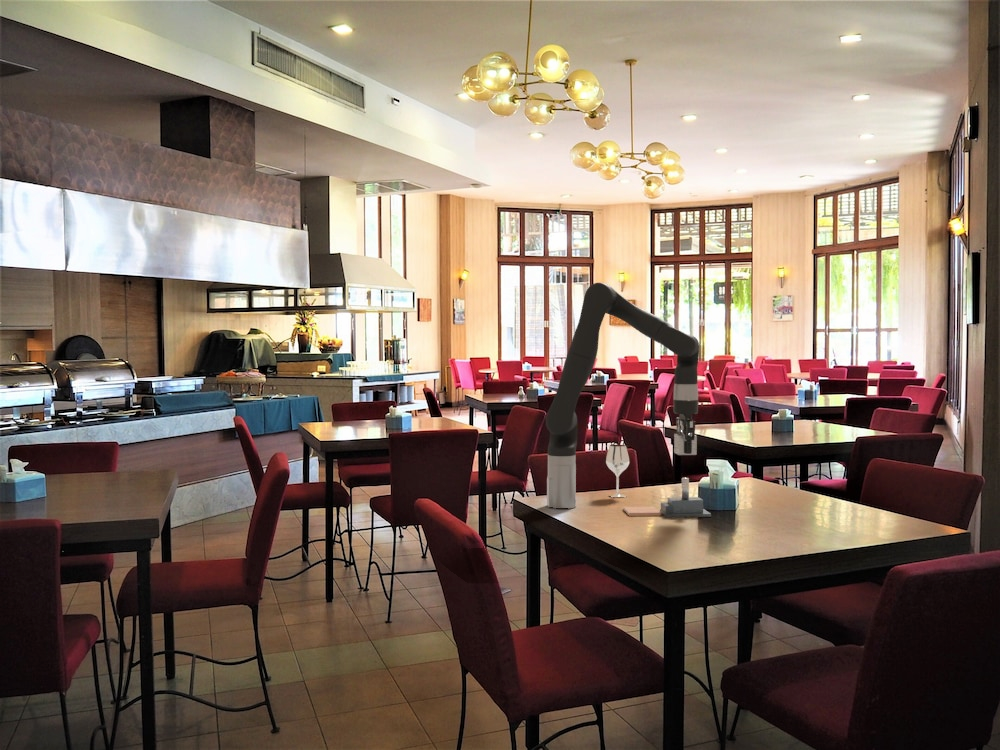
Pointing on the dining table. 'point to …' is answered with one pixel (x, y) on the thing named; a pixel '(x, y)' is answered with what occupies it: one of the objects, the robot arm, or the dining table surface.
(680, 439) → the white cube
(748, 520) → the dining table surface
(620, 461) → the wineglass
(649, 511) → the terracotta tile
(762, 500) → the dining table surface
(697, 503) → the grey peg stand
